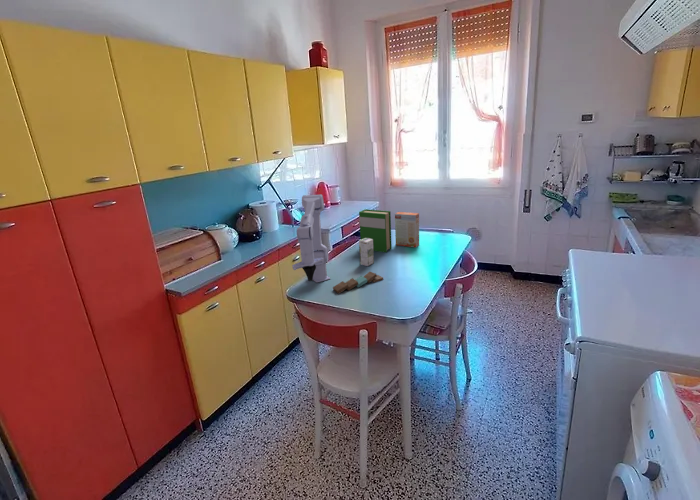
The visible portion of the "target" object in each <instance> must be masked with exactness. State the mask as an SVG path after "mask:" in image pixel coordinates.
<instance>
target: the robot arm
mask: <svg viewBox="0 0 700 500" xmlns="http://www.w3.org/2000/svg"><path fill="white" fill-rule="evenodd" d="M324 203H325V202H324V196H323V194H321V193H320V194H306V195H305V194H303V195H302V196H301V205H302V207H303V209H304V214H303V215H302V216H301V218H300V221H299V222H300V224H299V227H297V228H296V238H297V241H298V245H299V249H300V251H299V252H300V258H301V261H300V262H297V263H295V264H294V263H293V264H292V265H291V266H292V270H293V271H297V270H298V269H302V270H303V271H304V273H305V275H306V279H307V280H308V282H313V281H314V282H315V283H321V282H323V281H324V282H325V281H328V280H330V279H331V277H330V276H328V271H327V270H328V269H327V263H328V261H329V251H328V250H329V249H328V247H327V246H326V245H325V244H323V241H322V228H321V225H322V224H321V212H322V211H324V209H325V206H324V205H325V204H324Z"/></svg>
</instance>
